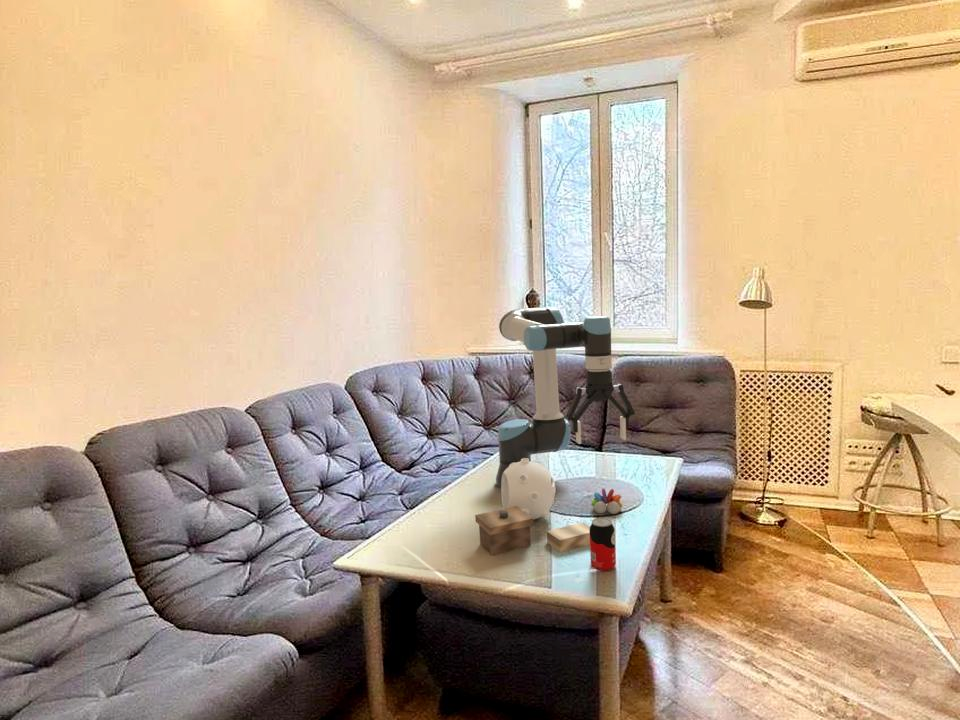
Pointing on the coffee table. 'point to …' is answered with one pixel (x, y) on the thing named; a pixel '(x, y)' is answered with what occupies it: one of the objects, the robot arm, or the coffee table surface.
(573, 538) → the light wooden block
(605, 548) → the beverage can
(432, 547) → the coffee table surface
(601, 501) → the rainbow disc baby toy
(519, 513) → the lid
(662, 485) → the coffee table surface
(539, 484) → the decorative ball
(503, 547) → the box
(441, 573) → the coffee table surface
